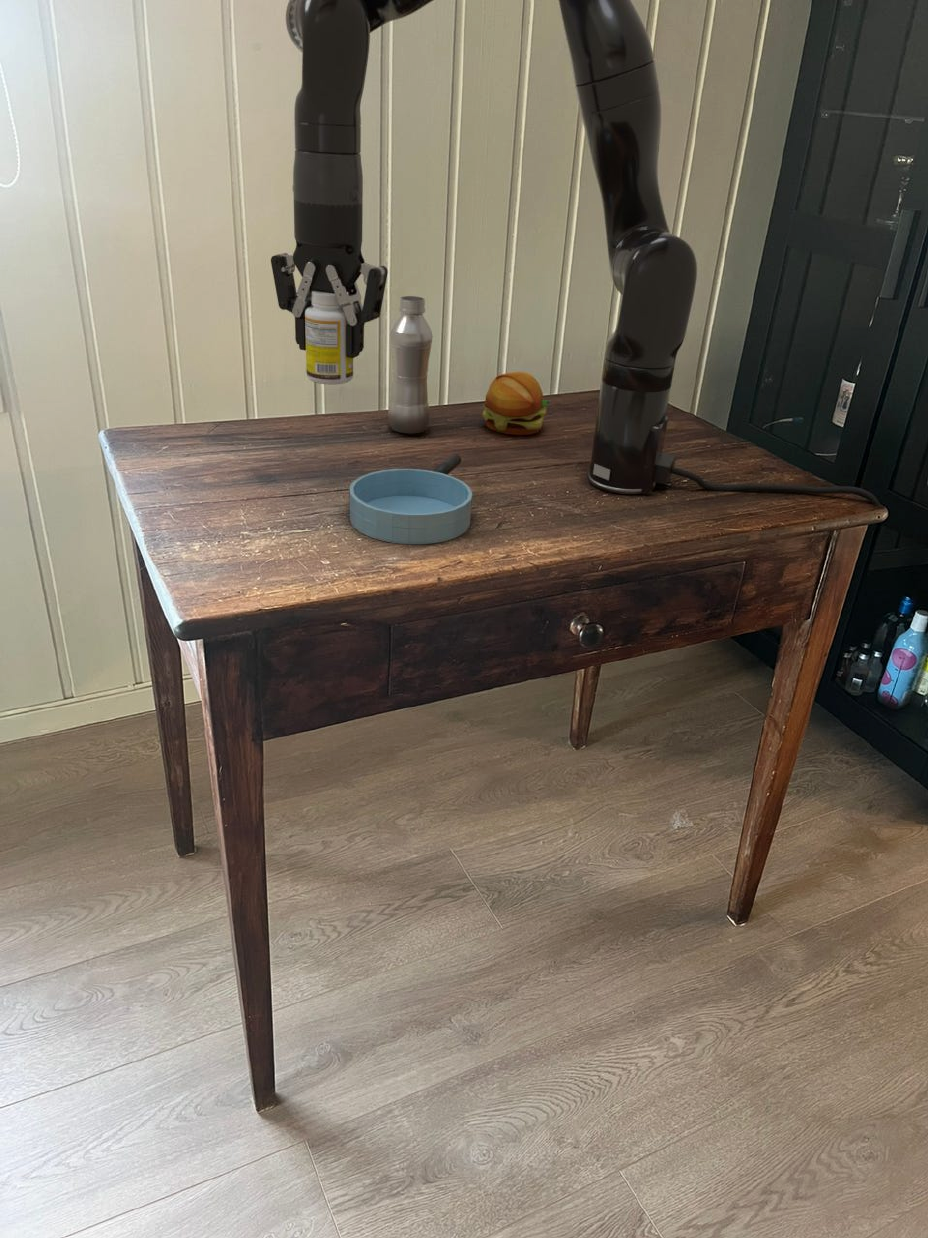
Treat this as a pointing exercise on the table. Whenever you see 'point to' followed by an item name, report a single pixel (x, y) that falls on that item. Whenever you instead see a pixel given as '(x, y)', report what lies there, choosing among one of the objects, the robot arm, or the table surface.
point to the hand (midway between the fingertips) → (329, 351)
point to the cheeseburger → (515, 404)
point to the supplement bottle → (326, 341)
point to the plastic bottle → (410, 367)
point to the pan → (410, 506)
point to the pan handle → (448, 464)
